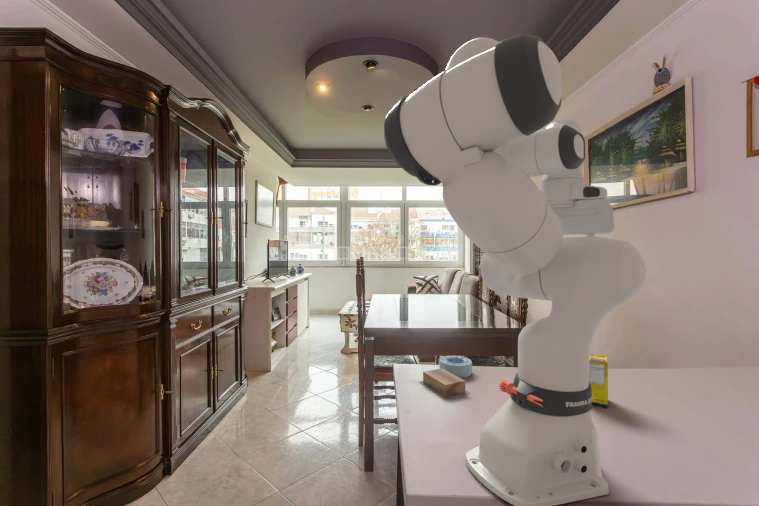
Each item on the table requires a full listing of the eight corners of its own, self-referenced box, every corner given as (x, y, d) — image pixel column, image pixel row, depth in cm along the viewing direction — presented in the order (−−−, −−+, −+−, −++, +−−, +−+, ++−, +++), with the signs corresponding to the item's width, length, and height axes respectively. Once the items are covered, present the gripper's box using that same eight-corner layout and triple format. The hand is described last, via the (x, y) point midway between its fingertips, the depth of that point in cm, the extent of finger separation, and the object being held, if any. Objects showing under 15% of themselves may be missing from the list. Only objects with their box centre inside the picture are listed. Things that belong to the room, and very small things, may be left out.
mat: (444, 403, 81) (444, 399, 81) (418, 385, 92) (418, 382, 92) (470, 397, 84) (470, 393, 84) (442, 380, 95) (442, 377, 95)
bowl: (452, 383, 93) (452, 367, 93) (433, 372, 102) (433, 358, 102) (478, 378, 97) (478, 362, 97) (458, 368, 106) (458, 354, 106)
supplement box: (607, 399, 84) (607, 355, 84) (608, 408, 78) (608, 361, 78) (579, 393, 87) (579, 351, 87) (578, 402, 82) (578, 357, 82)
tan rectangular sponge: (445, 397, 82) (445, 384, 82) (423, 382, 91) (423, 371, 91) (465, 392, 85) (465, 380, 85) (442, 379, 94) (442, 368, 94)
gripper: (511, 196, 81) (510, 253, 81) (615, 188, 70) (614, 254, 70) (516, 200, 86) (516, 254, 86) (613, 193, 75) (613, 254, 75)
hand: (561, 254), depth 78 cm, fingers open, 8 cm apart
